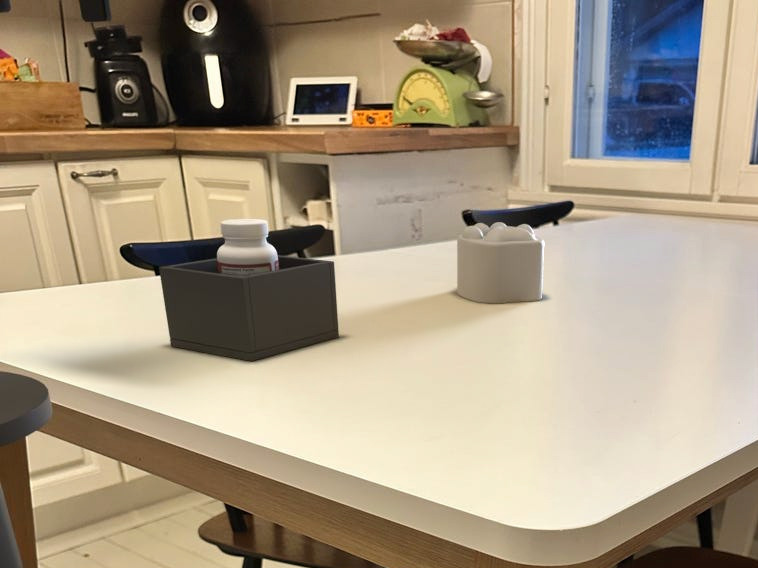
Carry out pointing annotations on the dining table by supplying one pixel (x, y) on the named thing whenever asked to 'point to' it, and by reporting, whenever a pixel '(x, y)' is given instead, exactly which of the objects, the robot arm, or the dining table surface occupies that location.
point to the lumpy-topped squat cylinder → (499, 263)
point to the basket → (250, 307)
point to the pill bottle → (246, 248)
